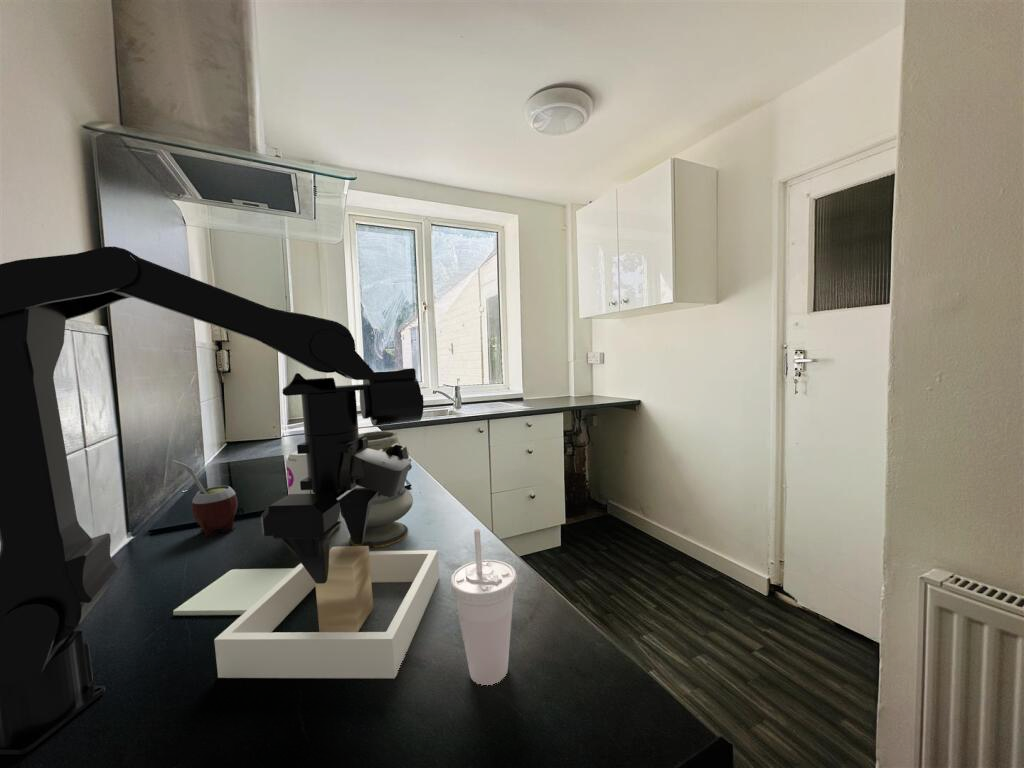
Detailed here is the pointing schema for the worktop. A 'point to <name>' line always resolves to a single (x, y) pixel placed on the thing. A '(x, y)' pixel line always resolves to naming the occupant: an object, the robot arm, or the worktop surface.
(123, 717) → the worktop surface
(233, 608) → the sage mat
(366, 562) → the maple block
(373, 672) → the white square frame
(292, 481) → the supplement can
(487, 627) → the smoothie
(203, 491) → the mate gourd
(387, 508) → the apothecary jar
